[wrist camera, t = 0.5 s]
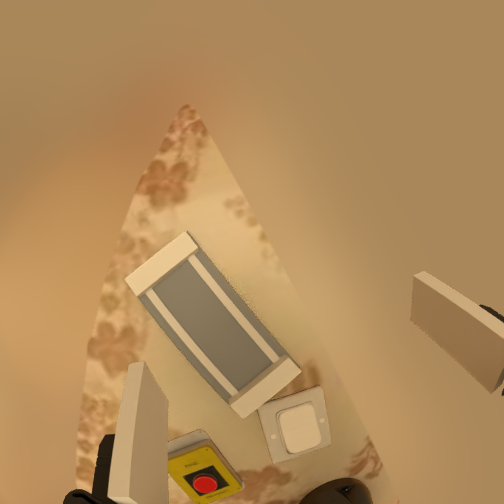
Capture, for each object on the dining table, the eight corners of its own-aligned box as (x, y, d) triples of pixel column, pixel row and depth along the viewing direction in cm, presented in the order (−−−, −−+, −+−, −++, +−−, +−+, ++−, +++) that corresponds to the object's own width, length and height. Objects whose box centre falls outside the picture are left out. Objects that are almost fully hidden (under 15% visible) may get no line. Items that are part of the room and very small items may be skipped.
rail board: (298, 366, 43) (306, 371, 39) (239, 414, 40) (242, 423, 36) (187, 232, 44) (185, 226, 40) (127, 280, 41) (119, 278, 37)
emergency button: (202, 515, 32) (150, 457, 33) (202, 502, 36) (154, 445, 37) (250, 498, 34) (202, 437, 35) (247, 485, 38) (202, 426, 39)
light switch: (276, 473, 36) (259, 413, 37) (271, 461, 40) (255, 403, 41) (338, 451, 38) (328, 391, 39) (328, 441, 42) (318, 383, 43)
